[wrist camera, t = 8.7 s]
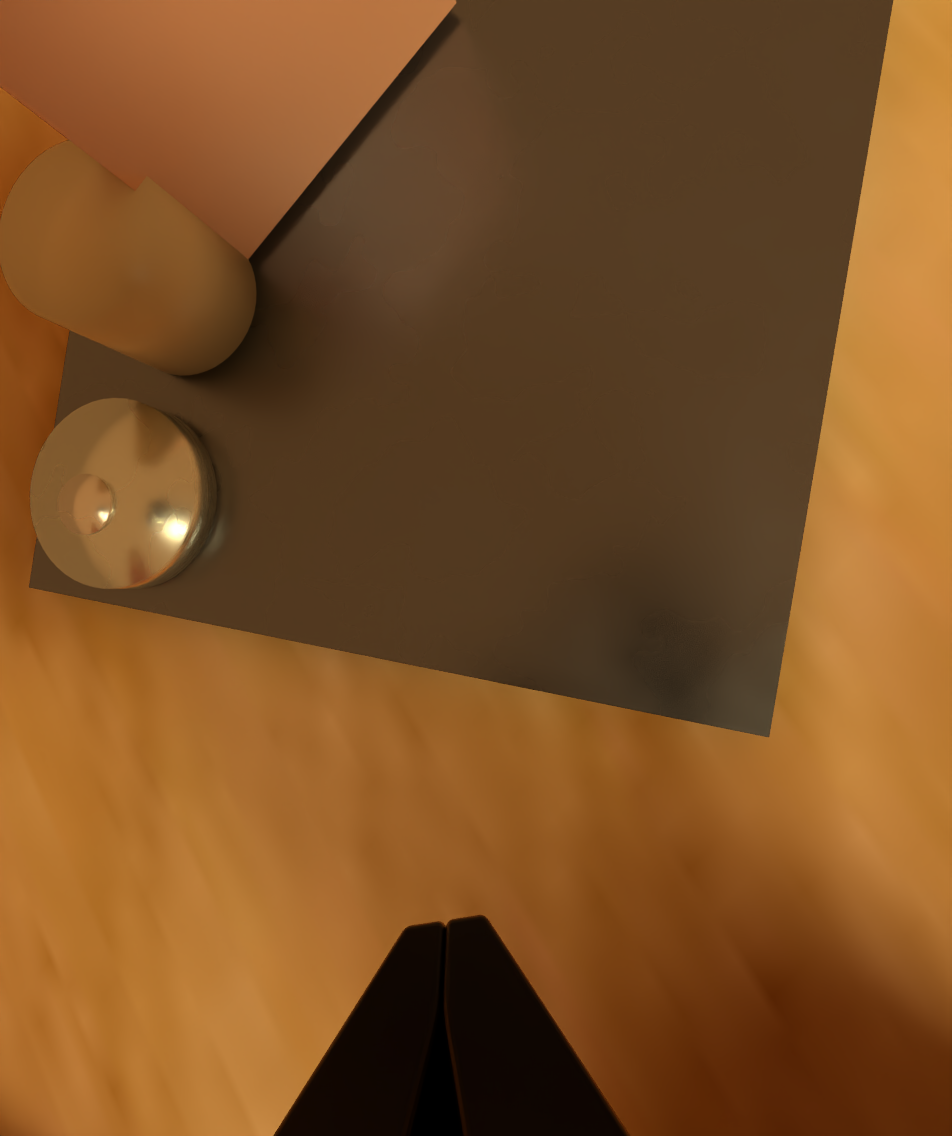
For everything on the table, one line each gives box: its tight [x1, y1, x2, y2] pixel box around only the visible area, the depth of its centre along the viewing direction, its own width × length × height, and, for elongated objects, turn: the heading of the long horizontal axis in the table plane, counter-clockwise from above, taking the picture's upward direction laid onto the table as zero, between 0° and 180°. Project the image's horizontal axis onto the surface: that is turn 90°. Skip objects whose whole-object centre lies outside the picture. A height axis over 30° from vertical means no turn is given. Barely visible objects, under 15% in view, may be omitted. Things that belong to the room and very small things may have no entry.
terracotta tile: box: [0, 0, 456, 376], centre depth 15 cm, size 12×4×8 cm, turn 136°
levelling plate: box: [29, 0, 893, 737], centre depth 18 cm, size 20×20×2 cm
